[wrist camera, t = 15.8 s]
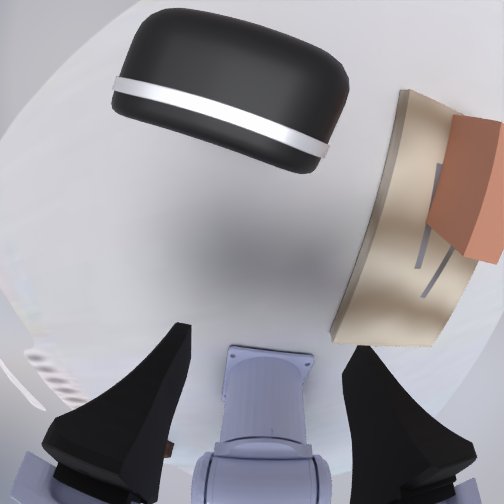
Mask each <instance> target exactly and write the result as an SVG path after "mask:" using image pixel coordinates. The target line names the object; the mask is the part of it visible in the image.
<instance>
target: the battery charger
mask: <svg viewBox="0 0 504 504" xmlns="http://www.w3.org/2000/svg"><path fill="white" fill-rule="evenodd" d="M112 89H113V90H115V91H114V94H113V97H112V103H111V105H112V109H113V110H114V111H115V112H117V113H118V114H120V115H122V116H125V117H128V118H131V119H135V120H138V121H142V122H145V123H149V124H152V125H156V126H159V127H162V128H166V129H169V130H172V131H175V132H179V133H182V134H185V135H188V136H191V137H194V138H197V139H200V140H203V141H206V142H209V143H212V144H215V145H218V146H221V147H224V148H227V149H230V150H232V151H235V152H238V153H241V154H243V155H246V156H249V157H252V158H254V159H257V160H259V161H262V162H265V163H268V164H270V165H273V166H276V167H278V168H281V169H284V170H287V171H290V172H294V173H298V174H307V173H311V172H313V171H314V170H315V169H316V167H317V166H318V164H319V161H320V159H321V158H325V156H326V154H327V151H328V149H329V147H330V145H328V142H329V139H330V137H331V135H332V133H333V131H334V128H335V126H336V124H337V122H338V119H339V117H340V115H341V113H342V110H343V108H344V106H345V103H346V100H347V97H348V93H349V78H348V76H347V74H346V72H345V70H344V68H343V66H342V64H341V63H340V62H339V61H338V60H336V59H335V58H334V57H333V56H332V55H330V54H329V53H328V52H326V51H324V50H322V49H320V48H318V47H316V46H314V45H312V44H309V43H307V42H305V41H302V40H300V39H297V38H295V37H292V36H289V35H287V34H284V33H281V32H278V31H276V30H273V29H270V28H267V27H264V26H261V25H257V24H254V23H251V22H247V21H244V20H240V19H236V18H232V17H228V16H223V15H219V14H214V13H210V12H204V11H199V10H193V9H186V8H169V9H164V10H161V11H158V12H156V13H154V14H151V15H150V16H149V17H148V18H147V19H146V20H145V21H143V22H142V24H141V25H140V27H139V29H138V31H137V32H136V34H135V36H134V39H133V41H132V43H131V46H130V48H129V51H128V54H127V56H126V59H125V61H124V64H123V67H122V70H121V73H120V76H119V77H118V76H116V79H115V82H114V85H113V88H112Z"/></svg>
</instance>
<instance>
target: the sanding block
mask: <svg viewBox="0 0 504 504" xmlns="http://www.w3.org/2000/svg"><path fill="white" fill-rule="evenodd" d="M425 223H426V224H428V225H429V226H430V227H431V228H432V229H433V230H435V231H436V232H437V233H438V234H439V235H440V236H441V237H443V238H444V239H445V240H446V241H447V242H448V243H449V244H450V245H451V246H453V247H454V248H455V249H456V250H457V251H458V252H459V253H460V254H461V255H462V256H463V257H468V258H472V259H476V260H480V261H484V262H488V263H492V264H496V265H497V263H498V261H499V258H500V256H501V254H502V251H503V249H504V124H503V123H502V122H499V121H493V120H488V119H482V118H476V117H469V116H462V115H453V117H452V123H451V128H450V134H449V139H448V143H447V148H446V152H445V157H444V161H443V165H442V169H441V173H440V177H439V180H438V184H437V187H436V191H435V194H434V198H433V201H432V204H431V207H430V210H429V213H428V216H427V219H426V222H425Z"/></svg>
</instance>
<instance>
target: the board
mask: <svg viewBox="0 0 504 504" xmlns="http://www.w3.org/2000/svg"><path fill="white" fill-rule="evenodd" d="M453 115H462V116H464V115H463V114H461V113H459V112H457V111H455V110H453V109H451V108H449V107H447V106H445V105H443V104H441V103H439V102H437V101H435V100H433V99H431V98H429V97H427V96H424V95H422V94H420V93H417V92H415V91H413V90H410V89H409V90H400V94H399V100H398V106H397V112H396V117H395V122H394V127H393V132H392V137H391V142H390V146H389V151H388V155H387V159H386V164H385V168H384V172H383V176H382V180H381V183H380V187H379V191H378V194H377V198H376V202H375V205H374V209H373V212H372V215H371V219H370V222H369V225H368V229H367V232H366V235H365V238H364V241H363V244H362V247H361V250H360V253H359V256H358V259H357V262H356V265H355V268H354V271H353V273H352V276H351V279H350V282H349V284H348V287H347V290H346V292H345V295H344V298H343V300H342V303H341V305H340V308H339V310H338V313H337V315H336V318H335V320H334V323H333V325H332V327H331V330H330V334H331V338H332V343H337V344H351V345H369V346H396V347H432V346H433V344H434V343H435V341H436V339H437V338H438V336H439V335H440V333H441V331H442V330H443V328H444V326H445V325H446V323H447V321H448V320H449V318H450V316H451V315H452V313H453V311H454V309H455V307H456V306H457V304H458V302H459V300H460V298H461V296H462V294H463V292H464V290H465V288H466V286H467V284H468V282H469V280H470V278H471V276H472V274H473V272H474V270H475V268H476V265H477V263H478V261H479V260H476V259H472V258H468V257H463V256H462V255H461V254H460V253H459V252H458V251H457V250H456V249H455V248H454V247H453V246H451V245H450V244H449V243H448V242H447V241H446V240H445V239H444V238H443V237H441V236H440V235H439V234H438V233H437V232H436V231H435V230H433V229H432V228H431V227H430V226H429V225H428V224H426V223H425V222H426V219H427V216H428V213H429V210H430V207H431V204H432V201H433V198H434V194H435V191H436V187H437V184H438V180H439V177H440V173H441V169H442V165H443V161H444V157H445V152H446V148H447V143H448V139H449V134H450V128H451V123H452V117H453Z"/></svg>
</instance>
